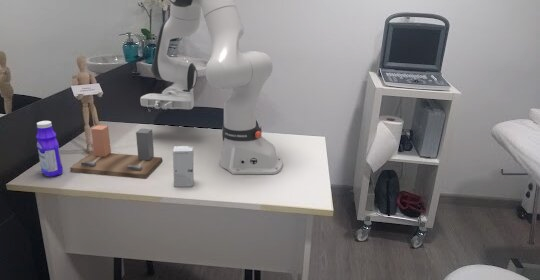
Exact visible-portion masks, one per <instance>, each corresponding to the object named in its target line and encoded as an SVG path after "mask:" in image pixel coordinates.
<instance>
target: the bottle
mask: <svg viewBox="0 0 540 280" xmlns="http://www.w3.org/2000/svg"><path fill="white" fill-rule="evenodd" d="M36 129H37V134H36V136H35V138H36V139H37V142H36V147H37V151H38V152H37V153H38V157H39V163H40V170H41V172H42V174H43V175H45V176H47V177H49V178H50V177H55V176H59V175H61V174H62V173H63V171H64V169H63V168H64V167H63V164H62V158H61V151H60V145H59V141H58V140H57V138H56V137H57V133H56V132H55V131H54V129H53V124H52V121H50V120H42V121H38V122H36Z"/></svg>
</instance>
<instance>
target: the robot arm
mask: <svg viewBox="0 0 540 280" xmlns="http://www.w3.org/2000/svg"><path fill="white" fill-rule="evenodd" d="M169 2H170V10H169V11H170V12H169V17H168V19H166V20H164V21H163V23H162V24H161V26H160V28H159V33H158V37H157V41H156V47H155V51H154V57H153V60H152V62H151V67H150V72H151V74H152V75H153V77H154V78H155V79H156V80H159V81H160V80H161V81H167V82H171V83H172V84H171V85H169V86H168V87H166V88H165V89H164V90H162V92H161V93H153V92H152V93H146V94H143V95H142V96H140V99H139V100H140V105H141V106H142V107H148V108H149V107H150V108H154V109H157V110H160V108H161V109H162V110H168V109H170V110H177V109H178V110H192V109H193V108H194V107H195V106H194V105H195V97H194V88H195V87H196V85H197V81H198V70H197V67H196V66H195V64H194V63H193V62H190V61H186V60H181V59H177V58H174V57H171V56H169V55H168V51H169V47H170V41H171V40H173V39H180V38H186V37H190V36H192V35H194V34H195V33H196V32H197V31H198V29H199V27H200V24H201V23H200V22H201V12H202V14H203V18H204V21H205V23H206V27H207V29H208V33H209V36H210V40H211V48H212V49H211V54H210V55H211V56H210V59H209V60H208V62H207V63H206V66H205V70H204V72H205V78H206V80H207V82H208V84H209V85H210V86H211V87H212V88H214V89H217V90H232V91H231V92H230V95H229V96H228V97H227V98H226V100H225V101H224V103H223V125H222V128H221V138H222V141H223V142H222V150H221V154H220V155H221V156H220V159H219V161H218V162H219V163H218V164H219V166H220V167H221V168H223V169H225V170H228V171H229V173H231V175H232V174H233V175H276V174H278V173H280V171H282V169H283V165H284V164H283V158H282V157H280V156H279V155H277V150H276V147H275V145H274V144H272V143H271V142H270V141H269V140H267V139H266V138H264V137H263V136H262V134H263V133H262V126H261V125H260V127H259V125H257V109H258V107H257V106H258V102H259V98H260V94H261V92H262V89H263V86H264V85H265V83H266V82H267V80H268V79H269V78H270V77H271V75H272V73H273V61H272V59H271V57H270V56H269V55H268V54H267V53H265V52H262V51H255V50H250V51H243V52H241V50H240V45H239V42H240V39H241V38H242V36H243V35H244V33H245V32H244V31H245V30H244V29H245V28H244V25H243V22H242V19H241V17H240V13H239V11H238V8H237V4H236V2H235V0H169Z"/></svg>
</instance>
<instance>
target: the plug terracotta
mask: <svg viewBox="0 0 540 280" xmlns="http://www.w3.org/2000/svg"><path fill="white" fill-rule="evenodd" d="M90 129H91V130H90V131H91V138H92V144H93V145H92V147H93V152H94V155H95V156H103V157H106V156H107V155H108V154H110V153H112V148H111V140H110V130H109V126H108V125H99V124H97V125H95V126H93V127H91V128H90Z"/></svg>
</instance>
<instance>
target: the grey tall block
mask: <svg viewBox="0 0 540 280" xmlns="http://www.w3.org/2000/svg"><path fill="white" fill-rule="evenodd" d="M135 136H136V147H137V155H138V160H149V161H150V160H151V159H152V158H153V157H155V151H154V139H153V129H150V128H140V129H138V130H137V131H136V132H135Z"/></svg>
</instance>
